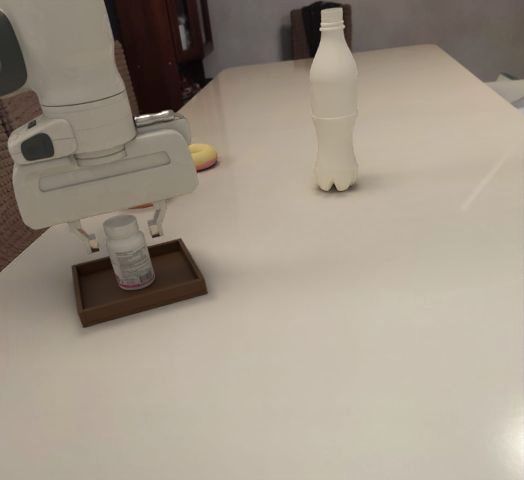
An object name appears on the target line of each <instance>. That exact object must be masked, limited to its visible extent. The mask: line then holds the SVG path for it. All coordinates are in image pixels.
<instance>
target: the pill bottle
mask: <svg viewBox="0 0 524 480" xmlns="http://www.w3.org/2000/svg"><path fill="white" fill-rule="evenodd" d="M102 227H103V231H104V234H105V236H106V238H105V246H106V250H107V254H108V256H110V260H111V263H112V266H113V269H114V272H115V275H116V278H117V281H118V284H119V286H120V287H121V288H122V289H125V290H138V289H142V288H145V287H147V286H149V285H150V284H151V283H152V282H153V281H154V279H155V274H154V270H153V267H152V263H151V260H150V256H149V252H148V248H147V246H148V245H147V241H146V238H145V234H144V232H143V231H142V230H140V226H139V223H138V220H137V217H136V215H134V214H131V213H122V214H116V215H114V216H110V217H109V218H107V219H106V220H104V221H103V223H102Z"/></svg>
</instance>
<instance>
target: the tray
mask: <svg viewBox="0 0 524 480" xmlns="http://www.w3.org/2000/svg"><path fill="white" fill-rule="evenodd" d="M147 248H148V252H149V256H150V260H151V263H152V267H153V270H154V274H155V279H154V281H153V282H152V283H151V284H150V285H149V286H147V287H145V288H142V289H138V290H125V289H122V288H121V287H120V286H119V284H118V281H117V278H116V275H115V272H114V269H113V266H112V263H111V260H110V256H109V255H108V256H104V257H100V258H95V259H92V260H88V261H84V262H80V263H76V264H72V265H71V273H72V281H73V288H74V296H75V305H76V310H77V316H78V318H79V320H80V323H81V325H82V328H87V327H91V326H93V325H97V324H100V323H104V322H108V321H112V320H115V319H119V318H123V317H126V316H130V315H133V314H136V313H141V312H144V311H145V312H146V311H148V310H151V309H155V308H159V307H162V306H166V305H169V304H173V303H177V302H180V301H184V300H187V299H188V300H189V299H191V298H192V299H193V298H195V297H198V296H199V297H200V296H203V295H207V294H208V288H207V283H206V279H205V277H204V275H203V273H202V271H201V270H200V268H199V266H198V265H197V262H196V261H195V259H194V257H193V256H192V254H191V253H190V251H189V249H188V247H187V245H186V244H185V242H184V240H183V239H182V238H181V237H180V238H179V237H178V238H176V239H172V240H167V241H163V242H159V243H156V244H150V245H147Z"/></svg>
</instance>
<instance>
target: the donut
mask: <svg viewBox="0 0 524 480" xmlns="http://www.w3.org/2000/svg"><path fill="white" fill-rule="evenodd" d="M189 150H190V153H191V155H192V158H193V161H194V164H195V168H196V171H197V172H198V171H202V170H205V169H207V168H209V167H212V166H214V165H215V163H217V160H218V152H217V150H216V148H215V147H214V146H212V145H210V144H208V143H191V144H190V146H189Z"/></svg>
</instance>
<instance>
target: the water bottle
mask: <svg viewBox="0 0 524 480" xmlns="http://www.w3.org/2000/svg"><path fill="white" fill-rule="evenodd" d="M343 13H344V11H343V7H331V8H325V9H321V11H320V17H321V18H320V20H321V22H320V27H319V31H320V32H321V33H320V42H319V45H318V47H317V50H316V53H315V55H314V57H313V61H312V63H311V66H310V70H309V75H308V76H309V77H308V81H309V82H310V83H309V85H310V86H309V87H310V109H311V113H310V118H311V120H312V123H313V126H314V128H315V133H316V142H317V155H316V161H315V164H314V167H313V173H314V178H315V179H316V183H317V185H318V186H319V188H320V189H321V190H322V191H326V192H329V191H330V190H331V189H332V186H334V185H335V188H336V190H337V191H338V192H343V191H346V190H348V188H349V187H350V186H353V185H354V184H355V183H356V181H357V178H358V172H359V163H358V162H357V161H358V160H357V158H356V154H355V150H354V141H353V138H354V129H355V125H356V121H357V119H358V116H359V108H358V76H359V69H358V66H357V63H356V60H355V58H354V56H353V54H352V51H351V49H350V47H349V46H348V43H347V41H346V38H345V33H344V29H345V28H346V25H345V24H344V22H345V21H344V19H343V18H344V17H343Z"/></svg>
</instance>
